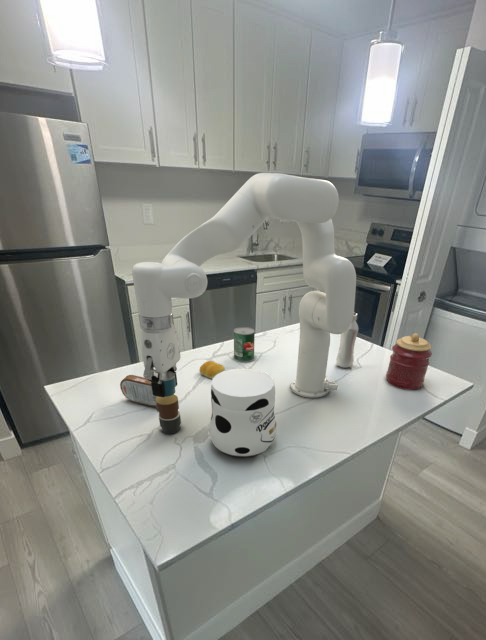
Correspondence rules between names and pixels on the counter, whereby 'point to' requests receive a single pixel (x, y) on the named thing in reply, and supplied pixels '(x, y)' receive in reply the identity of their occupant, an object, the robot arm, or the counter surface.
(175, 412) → the cylinder
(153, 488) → the counter surface
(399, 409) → the counter surface
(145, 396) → the tin
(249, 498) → the counter surface
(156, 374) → the cylinder
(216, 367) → the bread roll
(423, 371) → the kitchen canister
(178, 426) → the black pod
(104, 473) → the counter surface
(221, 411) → the milk container
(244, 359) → the canned tomato
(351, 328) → the plastic bottle
